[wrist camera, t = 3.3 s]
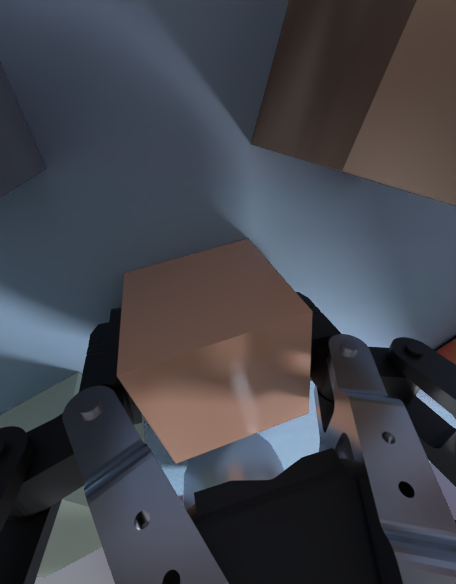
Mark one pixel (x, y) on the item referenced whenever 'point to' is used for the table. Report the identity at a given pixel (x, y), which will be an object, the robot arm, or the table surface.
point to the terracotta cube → (214, 348)
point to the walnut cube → (367, 91)
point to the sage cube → (74, 508)
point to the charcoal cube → (15, 142)
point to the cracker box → (449, 351)
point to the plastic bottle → (231, 465)
